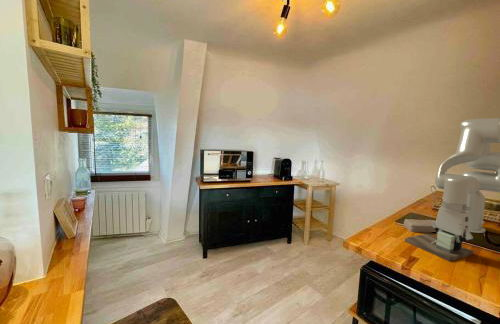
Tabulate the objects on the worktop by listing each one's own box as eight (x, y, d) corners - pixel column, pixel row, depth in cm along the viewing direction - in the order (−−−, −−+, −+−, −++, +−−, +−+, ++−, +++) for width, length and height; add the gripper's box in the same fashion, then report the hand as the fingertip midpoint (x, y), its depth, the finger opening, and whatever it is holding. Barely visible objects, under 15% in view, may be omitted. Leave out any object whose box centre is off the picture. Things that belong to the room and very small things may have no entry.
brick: (411, 232, 117) (412, 223, 116) (402, 225, 125) (403, 217, 124) (445, 234, 115) (447, 225, 114) (434, 227, 123) (435, 219, 122)
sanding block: (447, 244, 100) (449, 229, 99) (461, 250, 95) (463, 234, 94) (435, 247, 97) (437, 232, 96) (449, 253, 93) (451, 237, 92)
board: (427, 236, 112) (427, 233, 111) (473, 254, 95) (473, 251, 95) (404, 241, 106) (405, 238, 106) (449, 261, 89) (449, 257, 89)
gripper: (485, 212, 87) (479, 255, 90) (437, 199, 103) (432, 237, 105) (474, 214, 85) (467, 258, 87) (426, 201, 101) (421, 239, 103)
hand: (448, 246), depth 96 cm, fingers closed on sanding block, 5 cm apart
